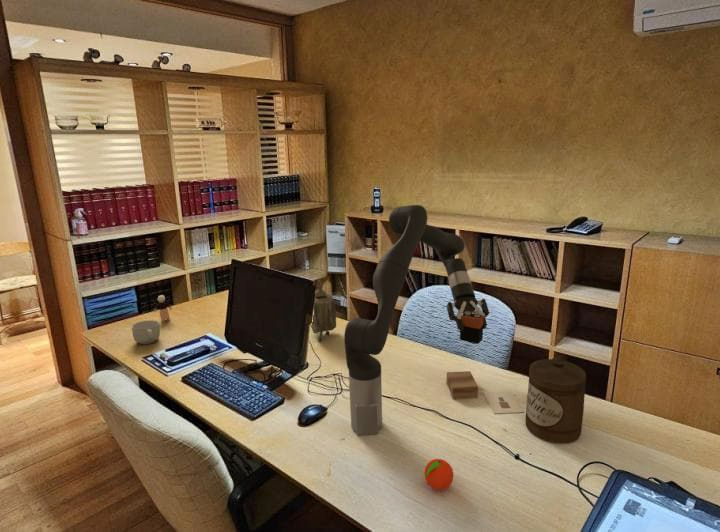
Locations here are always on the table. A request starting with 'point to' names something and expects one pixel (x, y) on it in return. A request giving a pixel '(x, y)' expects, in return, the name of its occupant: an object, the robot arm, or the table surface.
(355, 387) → the robot arm
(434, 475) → the red tomato
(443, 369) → the table surface
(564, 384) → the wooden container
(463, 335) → the battery
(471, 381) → the base brick
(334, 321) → the grey brown tall figure
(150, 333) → the teacup
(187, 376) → the table surface
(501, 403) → the page
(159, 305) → the grandmother figurine
